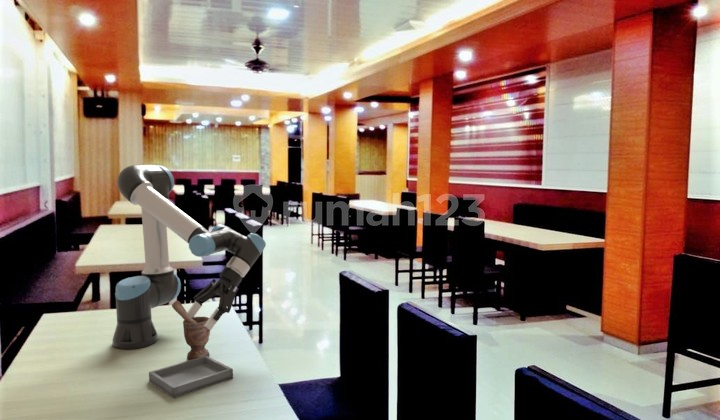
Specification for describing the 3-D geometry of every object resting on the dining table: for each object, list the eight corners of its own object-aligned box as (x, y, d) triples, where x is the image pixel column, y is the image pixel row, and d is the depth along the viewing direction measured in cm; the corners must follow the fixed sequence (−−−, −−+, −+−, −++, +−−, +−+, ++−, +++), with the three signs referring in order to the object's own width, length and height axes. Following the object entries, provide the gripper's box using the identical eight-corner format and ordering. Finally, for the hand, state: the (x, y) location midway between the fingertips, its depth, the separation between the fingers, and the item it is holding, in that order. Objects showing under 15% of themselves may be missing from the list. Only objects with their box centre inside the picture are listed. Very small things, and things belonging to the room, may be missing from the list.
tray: (149, 381, 160) (148, 372, 159) (206, 364, 173) (206, 355, 173) (173, 398, 149) (173, 387, 148) (233, 378, 162) (232, 368, 162)
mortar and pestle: (178, 366, 172) (176, 305, 170) (172, 358, 179) (169, 300, 177) (214, 358, 178) (212, 300, 176) (206, 351, 185) (204, 295, 183)
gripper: (261, 284, 180) (224, 337, 171) (222, 273, 198) (186, 321, 188) (247, 271, 176) (208, 325, 167) (208, 261, 193) (171, 310, 184)
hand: (196, 323), depth 178 cm, fingers open, 13 cm apart
